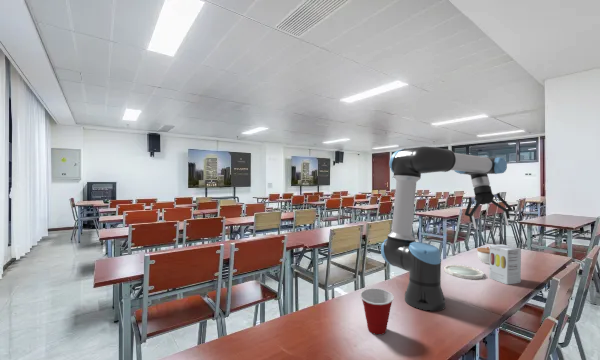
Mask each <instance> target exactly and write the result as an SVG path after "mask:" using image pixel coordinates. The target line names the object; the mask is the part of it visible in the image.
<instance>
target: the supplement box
mask: <svg viewBox="0 0 600 360" xmlns="http://www.w3.org/2000/svg"><path fill="white" fill-rule="evenodd" d="M489 248H490V264H488V266H489V267H488V269H489V270H488V271H489V275H488V277H489V279H491V280H493V281H495V282H496V281H497V282H499V283H502V284H505V285H513V284H521V282H522V281H521V280H522V279H521V278H522V277H521V276H522V274H521V273H522V271H521V270H522V267H521V266H522V249H521V248H519V247H515V246H510V245H506V244H503V243H502V244H491V245H489Z"/></svg>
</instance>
